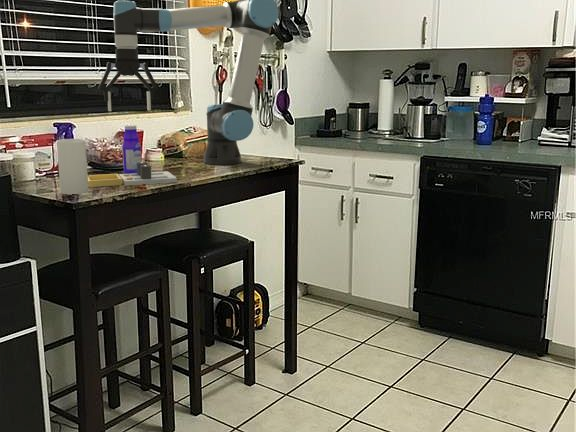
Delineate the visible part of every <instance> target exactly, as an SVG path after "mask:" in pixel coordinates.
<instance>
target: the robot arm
mask: <svg viewBox="0 0 576 432" xmlns="http://www.w3.org/2000/svg"><path fill="white" fill-rule="evenodd" d="M279 12H280V11H279V7H278V5H277V3H276V1H275V0H233V1H227V2H226V1H225V2H224V3H223V4H221V5H211V6H195V7H182V8H171V9H170V8H169V9H168V8H167V9H165V8H164V9H163V8H161V7H160V8H150V7H149V8H143V7H137V4H136V2H135V1H134V0H133V1H132V0H116V1H115V2H113V13H112V15H113V29H114V47H116V49H115V62H114V63H113V62H109V61H108V62H106V69H105V70H104V74H103V76H102V78H101V80H100V82H99V85H98V88H97V89H98V90H99V91H102V92H103V99H104V100H103V101H104V102H107V111H108V112H112V99H111V97H112V95H111V91H109V90H110V89H111V88H112V87H113V85H114V84H115V83H116V82H117V80H118V79H119V78H120V77H121V76H124V77H126V76H127V77H130V76H131V77H134V76H135V77H136V78H137V79H138V80H139V81H140V82H141V83H142V85H143V86H144V87H145V88H146V90H148V91H146V104H147V105H146V108H147V111H151V110H152V106H151V105H152V103H151V102H152V101H153V102H154V92H155V91H158V90H159V87H158V84H157V82H156V81H155V79H154V77H153V75H152V73H151V71H150V69H149V63H147V62H143V63H140V62H139V50H138V49H137V48H138V47H139V44H138V43H139V42H138V32H140V33H142V34H150V33H157V32H159V33H160V32H161V33H162V32H170V31H180V30H181V31H183V30H191V29H192V30H195V29H202V28H205V29H206V28H213V27H214V28H217V27H225V28H226V29H239V31H240V34H241V37H240V40H239V46H238V50H237V55H236V59H235V64H234V67H233V68H234V69H233V74H232V77H231V78H232V79H231V81H230V86H229V92H228V96H227V97H226V99H224V100H222V103H220V104H219V103H217V104H209V105H208V106H207V109H206V125H207V126H206V128H207V129H206V132H207V136H206V137H207V143H206V144H207V145H206V147H205V151H204V154H203V163H204V164H206V165H207V164H208V165H215V166H216V165H222V166H223V165H225V166H226V165H236V164H240V163H241V162H242V154H241V153H240V149H239V147H238V142H239V141H243V140H246V139H247V138H248V137H249V136H251V133H252V132H253V130H254V120H253V117H252V114H253V110H254V107H253V106H252V104H251V100H252V96H253V91H254V88H255V84H256V83H255V81H256V77H257V74H258V69H259V65H260V60H261V57H262V52H263V47H264V42H265V40H266V39H267V38H269V37H270V35H271V34H270V33H271V31H272V26H274V25H275V24H276V22H277V21H278V17H279ZM114 68H115V69H116V70H117V71H116V73H115V74H114V75H113V76H112V78H111V79H110V80H109V81H108V83H107V85H106V86H105V84H106V82H107V80H108V77H109V75H110V73H111V70H113V69H114ZM139 69H142V70H144V73H145V75H146V76H147V78H148V81H149V82H150V84H151V85H152V86H151V85H150V84H149V82H148V81H146V79H145V78H144V77H143V76H142V75H141V73H140V72H139ZM104 86H105V87H104Z"/></svg>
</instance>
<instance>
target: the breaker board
mask: <svg viewBox="0 0 576 432" xmlns="http://www.w3.org/2000/svg"><path fill="white" fill-rule="evenodd" d="M118 175H119V176H120V177H121V178H122V185H124V186H125V187H126V186H127V187H128V186H139V185H140V186H141V185H142V186H143V184H145V185H155V184H157V183H160V184H170V183H169V182H176V183H178V178H177V177H176V176H175V175H174V174H172V173H171V172H169V171H154V172H153V171H151V178H146V179H142V178H141V175H138V174H137V173H131V174H125V173H119V174H118Z"/></svg>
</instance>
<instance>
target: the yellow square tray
mask: <svg viewBox="0 0 576 432" xmlns="http://www.w3.org/2000/svg"><path fill="white" fill-rule="evenodd" d="M111 186H123V182H122V178H121V177H120V176H119V174H118V173H108V174H107V173H106V174H89V175H88V188H92V187H93V188H96V187H111Z"/></svg>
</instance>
